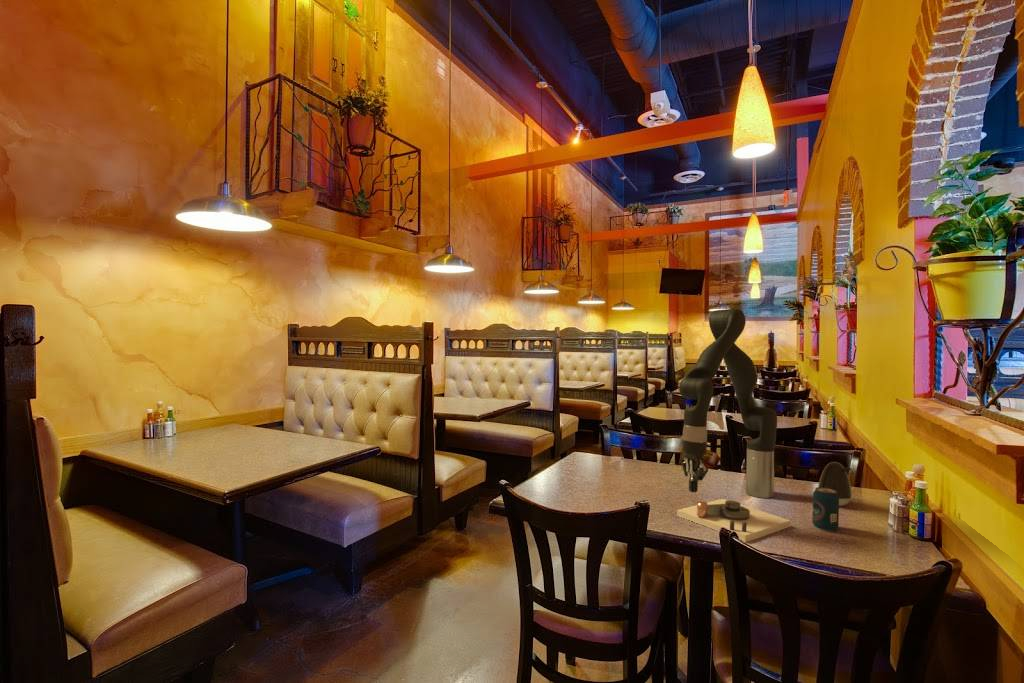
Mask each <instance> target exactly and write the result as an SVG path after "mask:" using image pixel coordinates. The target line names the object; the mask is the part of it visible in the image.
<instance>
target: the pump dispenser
mask: <svg viewBox="0 0 1024 683" xmlns="http://www.w3.org/2000/svg"><path fill="white" fill-rule="evenodd" d="M851 470H852V468H851V467H844V466H843V464H841V463H840V462H837V461H831V462H829V463H828V464H826V466H824V469H823V470H822V472H821V475H820V478H819V481H818V482H819V483H818V486H817V487H824V488H830V489H833V490H836V491H837V494H838V496H839V507H843V506H846V505H847V504H849V502H850V501H851V498H852V496H853V495H852V494H853V493H852V485H851V481H850V477H849V475H848V473H847V472H850V471H851Z"/></svg>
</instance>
